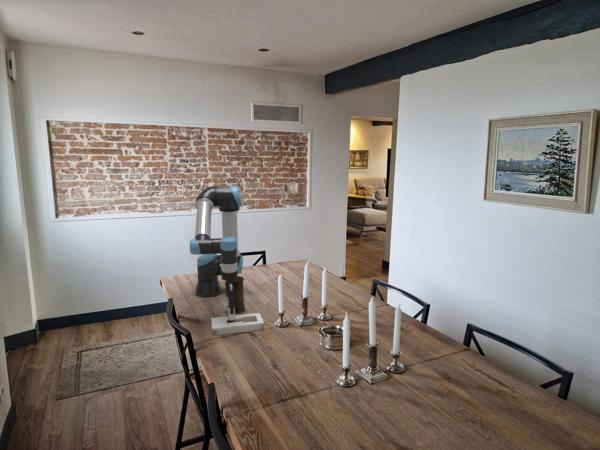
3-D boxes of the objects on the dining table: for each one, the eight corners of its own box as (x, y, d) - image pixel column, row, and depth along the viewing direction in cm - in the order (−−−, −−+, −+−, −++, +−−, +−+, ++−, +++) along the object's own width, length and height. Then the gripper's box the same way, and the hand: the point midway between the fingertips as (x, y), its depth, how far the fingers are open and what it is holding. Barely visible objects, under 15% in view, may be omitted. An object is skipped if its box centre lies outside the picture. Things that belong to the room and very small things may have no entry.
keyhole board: (211, 324, 193) (211, 318, 192) (259, 319, 199) (259, 312, 199) (212, 335, 181) (212, 328, 181) (264, 329, 188) (263, 322, 187)
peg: (225, 326, 191) (224, 296, 188) (235, 324, 193) (235, 295, 190) (226, 330, 186) (225, 300, 184) (237, 329, 188) (236, 299, 185)
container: (246, 307, 214) (246, 275, 210) (242, 314, 205) (241, 281, 202) (230, 306, 215) (229, 275, 211) (225, 313, 206) (224, 280, 202)
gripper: (219, 264, 194) (220, 306, 198) (223, 279, 172) (225, 326, 176) (234, 263, 196) (235, 304, 200) (240, 277, 174) (241, 324, 178)
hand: (230, 314), depth 188 cm, fingers open, 11 cm apart
